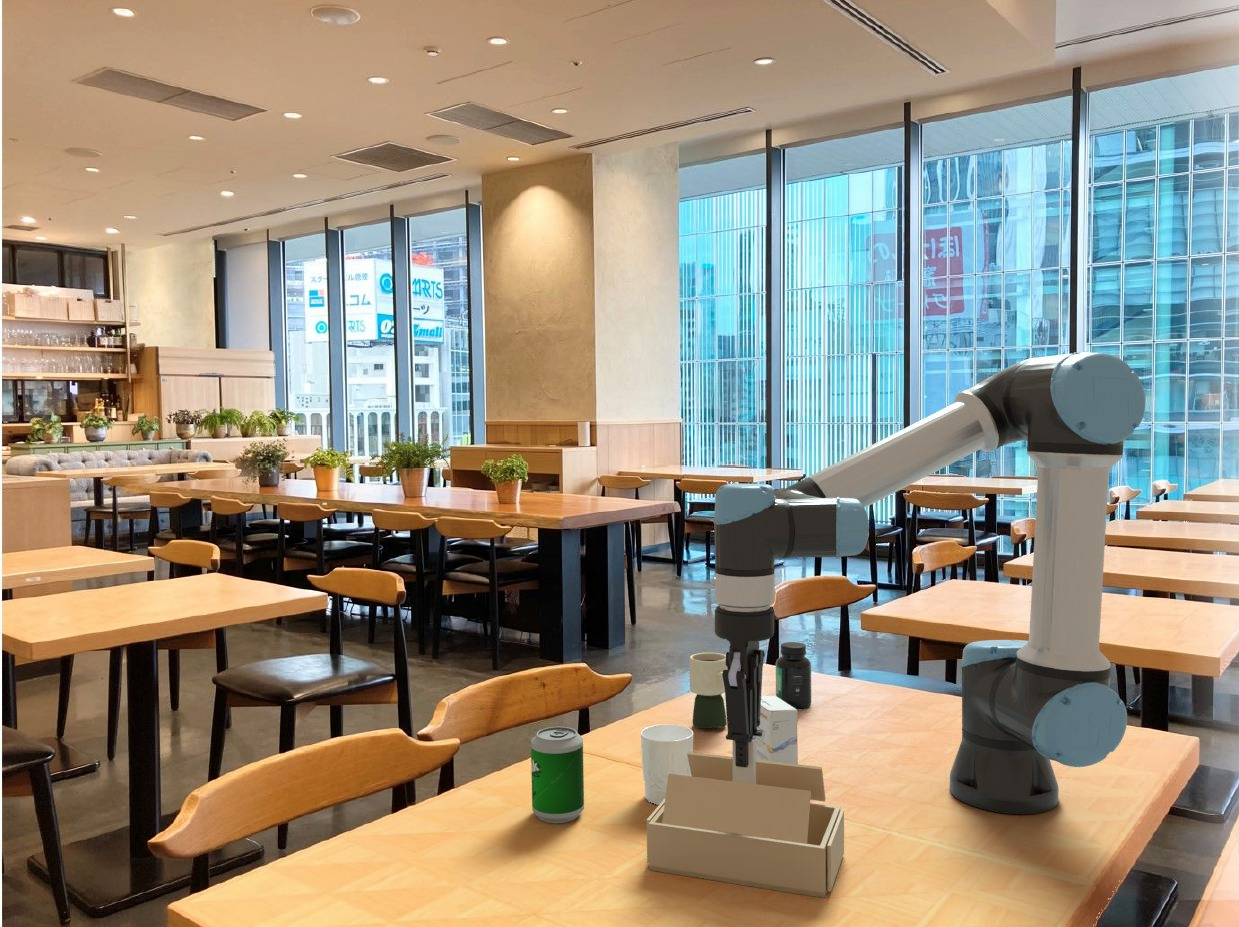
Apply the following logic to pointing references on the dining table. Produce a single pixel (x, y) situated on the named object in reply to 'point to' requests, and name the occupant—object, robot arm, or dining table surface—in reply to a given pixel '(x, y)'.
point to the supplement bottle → (794, 675)
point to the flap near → (737, 808)
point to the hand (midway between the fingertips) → (744, 788)
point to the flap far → (761, 773)
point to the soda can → (557, 774)
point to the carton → (752, 854)
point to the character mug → (708, 689)
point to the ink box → (777, 731)
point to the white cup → (664, 757)
